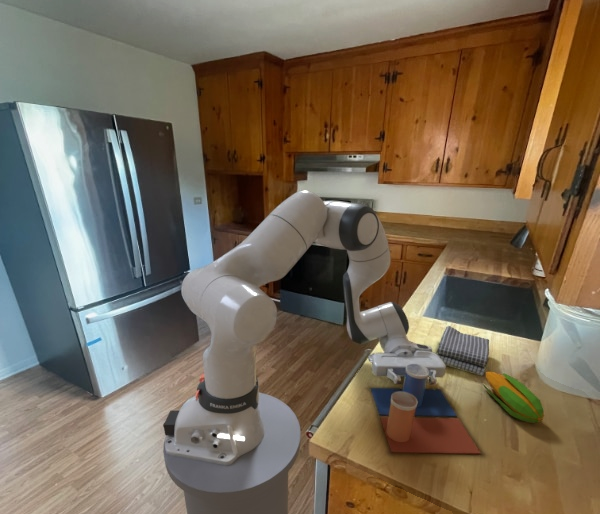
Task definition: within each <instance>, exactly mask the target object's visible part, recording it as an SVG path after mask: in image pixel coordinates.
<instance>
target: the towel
mask: <svg viewBox="0 0 600 514" xmlns="http://www.w3.org/2000/svg"><path fill="white" fill-rule="evenodd" d="M436 354H437V355H438V356H439V357H440V358H441V359H442V361H443V362H444V363H445V365H446V367H450V368H454V369H458V370H460V371H463V372H467V373H471V374H474V375H478V376H481V377H482V376H484V374H485V373H486V368H487V366H488V361H489V357H490V339H488V338H485V337H482V336H477V335H471V334H468V333H463V332H460V331H459V330H457V329H456V328H454V327H453V326H451V325H447V326H446V327H445V329H444V331H443V333H442V335H441V337H440V342H439V343H438V348H437V349H436Z"/></svg>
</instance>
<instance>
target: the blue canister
mask: <svg viewBox="0 0 600 514" xmlns="http://www.w3.org/2000/svg"><path fill="white" fill-rule="evenodd" d="M428 376H429V370H428V369H427V368H426V367H424V366H422V365H419V364H409V365H407V366H406V372H405V377H403V378H404V379H403V384H402V389H403V390H402V392H407V393H410V394H412V395H413V396H414V397H415V398H416V399H417V401H418V403H417V407H416V408H418V407H420V406H422V403H423V398H424V393H425V389H427V384H428V383H427V382H428V379H429V377H428Z"/></svg>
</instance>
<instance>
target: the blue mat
mask: <svg viewBox="0 0 600 514" xmlns="http://www.w3.org/2000/svg"><path fill="white" fill-rule="evenodd" d="M402 390H403V388H393V387H392V388H391V387H389V388H388V387H386V388H385V387H383V388H381V387H370V391H371V395H372V398H373V400H374V404H375V406H376V409H377V413H378V416H389V410H390V403H391V395H392V394H393V393H395V392H399V391H402ZM414 417H445V418H446V417H450V418H453V417H454V418H455V417H456V418H457V417H458V416H457V414H456V412H455V410H454V409H453V408H452V405H451V404H450V403H449V401H448V400H447V398H446V396H445V395H444V393H443V392H442V390H441V389H440V388H439V389H438V388H437V389H436V388H425V393H424V398H423V403H422V406H420V407H418V408H416V411H415V416H414Z"/></svg>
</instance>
